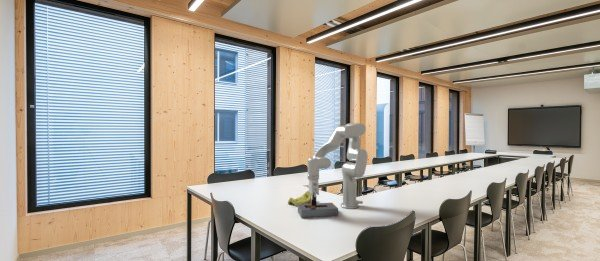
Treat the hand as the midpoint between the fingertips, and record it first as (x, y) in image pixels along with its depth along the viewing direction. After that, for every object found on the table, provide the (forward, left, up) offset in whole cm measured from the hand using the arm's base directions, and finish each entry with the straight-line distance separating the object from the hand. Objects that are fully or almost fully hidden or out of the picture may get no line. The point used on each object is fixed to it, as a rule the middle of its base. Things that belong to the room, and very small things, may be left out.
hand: (313, 204), depth 186 cm
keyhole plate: (-3, 0, -6) cm, 7 cm away
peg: (0, 0, -5) cm, 5 cm away
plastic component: (+3, -26, -7) cm, 27 cm away
